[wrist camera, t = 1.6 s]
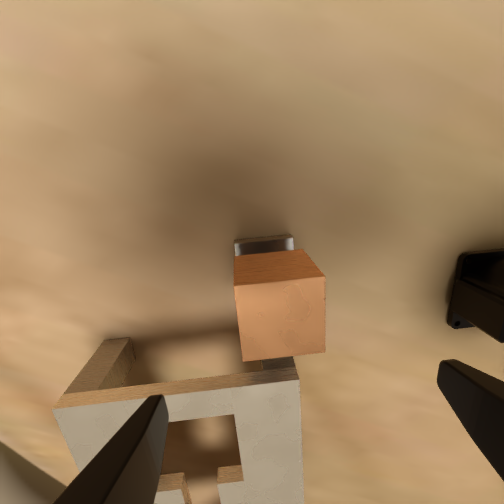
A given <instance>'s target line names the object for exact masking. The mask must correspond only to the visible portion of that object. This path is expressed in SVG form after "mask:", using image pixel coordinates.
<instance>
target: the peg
mask: <svg viewBox="0 0 504 504" xmlns="http://www.w3.org/2000/svg"><path fill="white" fill-rule="evenodd" d="M234 245H235V253H236V256H234V294H235V302H236V310H237V318H238V326H239V334H240V342H241V350H242V358H243V362H245V361H253V360H262V359H270V358H279V357H288V356H296V355H305V354H314V353H322V352H325V276H324V274H323V273H322V272H321V271H320V270H319V268H318V267H317V266H316V265H315V264H314V262H313V261H312V260H311V259H310V257H309V256H308V255H307V254H306V253H305V251H304V250H303V249H298V250H294V243H293V237H292V236H291V235H290V234H289V235H279V236H269V237H259V238H250V239H240V240H234Z"/></svg>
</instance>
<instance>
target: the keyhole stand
mask: <svg viewBox="0 0 504 504" xmlns="http://www.w3.org/2000/svg"><path fill="white" fill-rule="evenodd" d="M135 359H136V357H135V354H134V350H133V347H132V343H131V340H130V338H122V339H113V340H104V341H103V343H102V344H101V345H100V347H99V348H98V349H97V350H96V352H95V353H94V354H93V356H92V357H91V358H90V360H89V361H88V362H87V364H86V365H85V366H84V367H83V369H82V370H81V371H80V373H79V374H78V375H77V377H76V378H75V379H74V381H73V382H72V383H71V384H70V386H69V387H68V388H67V390H66V391H65V392H64V394H63V395H62V396H61V398H60V399H59V400H58V401H57V403H56V404H55V405H54V407H53V408H52V412H53V414H54V416H55V418H56V421H57V423H58V425H59V427H60V430H61V432H62V434H63V436H64V438H65V441H66V443H67V445H68V447H69V450H70V452H71V454H72V456H73V458H74V461H75V463H76V465H77V467H78V470H79V472H81V471H82V470H83V469H84V468H85V467H86V465H87V464H88V463H89V462H90V461H91V460H92V459H93V458H94V457H95V455H96V454H97V453H98V452H99V451H100V450H101V449H102V448H103V447H104V445H105V444H106V443H107V442H108V441H109V440H110V439H111V438H112V437H113V435H114V434H115V433H116V432H117V431H118V430H119V429H120V428H121V427H122V425H123V424H124V423H125V422H126V421H127V420H128V419H129V418H130V417H131V415H132V414H133V413H134V412H135V411H136V410H137V409H138V408H139V407H140V405H141V404H142V403H143V402H144V401H145V400H146V399H147V398H148V397H149V396H150V395H156V394H163V395H164V398H165V401H166V405H167V409H168V413H169V422H174V421H182V420H190V419H198V418H206V417H214V416H223V415H231V414H234V417H235V424H236V431H237V437H238V444H239V451H240V458H241V464H242V465H235V466H227V467H219V468H218V478H217V486H218V491H219V496H220V501H221V504H304V484H303V458H302V431H301V405H300V380H299V376H298V373H297V370H296V366H295V363H294V360H293V356H288V357H279V358H270V359H262V360H261V365H262V371H256V372H247V373H239V374H230V375H222V376H214V377H205V378H197V379H188V380H180V381H171V382H163V383H154V384H146V385H137V386H129V387H121V386H122V384H123V382H124V380H125V378H126V376H127V374H128V372H129V370H130V369H131V367H132V365H133V363H134V361H135ZM154 504H192V502H191V498H190V494H189V490H188V486H187V482H186V478H185V474H184V472H181V473H173V474H165V475H160V479H159V484H158V488H157V492H156V496H155V500H154Z"/></svg>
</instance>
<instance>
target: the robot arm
mask: <svg viewBox="0 0 504 504" xmlns="http://www.w3.org/2000/svg"><path fill="white" fill-rule="evenodd" d="M467 259H468V260H467ZM466 260H467V261H466ZM448 325H449V326H451V327H452V328H454V329H460V328H468V327H477V328H479V329H480V330H482V331H483V332H485V333H486V334H488V335H489V336H491V337H492V338H494V339H495V340H497V341H498V342H500V343H504V249H495V250H485V251H476V252H466V253H463V254H462V255H461V256H460V257H459V260H458V266H457V271H456V277H455V283H454V288H453V294H452V299H451V305H450V311H449V316H448ZM437 384H438V387H439V389H440V390H441V392H442V393H443V395H444V396H445V398H446V400H447V401H448V403H449V404H450V406H451V407H452V409H453V410H454V412H455V414H456V415H457V417H458V418H459V420H460V421H461V423H462V425H463V426H464V428H465V429H466V431H467V432H468V434H469V435H470V437H471V438H472V440H473V441H474V442H475V444H476V445H477V446H478V448H479V449H480V450H481V452H482V453H483V454H484V456H485V457H486V458H487V460H488V461H489V462H490V464H491V465H492V466H493V468H494V469H495V470H496V472H497V473H498V474H499V476H500V477H501V478H502V480H503V481H504V382H503V381H501V380H499V379H497V378H495V377H492V376H490V375H488V374H486V373H484V372H482V371H480V370H477V369H475V368H473V367H471V366H469V365H467V364H464V363H462V362H460V361H458V360H455V359H450V360H443V361H441V362H440V364H439V370H438V376H437ZM168 422H169V413H168V409H167V405H166V401H165V398H164V395H163V394H156V395H150V396H149V397H148V398H147V399H146V400H145V401H144V402H143V403H142V404H141V405H140V407H139V408H138V409H137V410H136V411H135V412H134V413H133V414H132V415H131V417H130V418H129V419H128V420H127V421H126V422H125V423H124V424H123V425H122V427H121V428H120V429H119V430H118V431H117V432H116V433H115V434H114V435H113V437H112V438H111V439H110V440H109V441H108V442H107V443H106V444H105V445H104V447H103V448H102V449H101V450H100V451H99V452H98V453H97V454H96V455H95V457H94V458H93V459H92V460H91V461H90V462H89V463H88V464H87V465H86V467H85V468H84V469H83V470H82V471H81V472H80V473H79V474H78V475H77V477H76V478H75V479H74V480H73V481H72V482H71V483H70V484H69V486H68V487H67V488H66V489H65V490H64V491H63V492H62V493H61V494H60V496H59V497H58V498H57V499H56V500H55V501H54V502H53V503H52V504H154V500H155V496H156V492H157V488H158V484H159V479H160V473H161V468H162V461H163V454H164V448H165V441H166V435H167V428H168Z"/></svg>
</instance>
